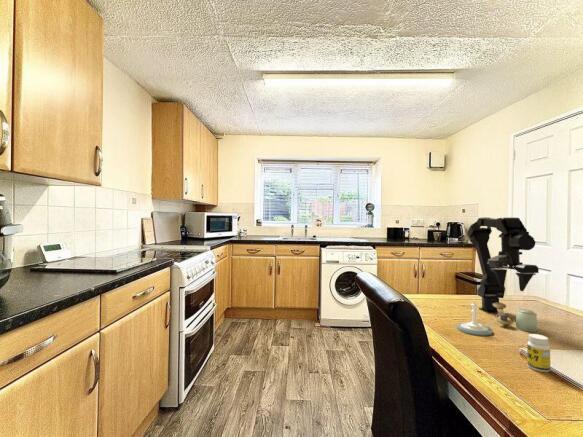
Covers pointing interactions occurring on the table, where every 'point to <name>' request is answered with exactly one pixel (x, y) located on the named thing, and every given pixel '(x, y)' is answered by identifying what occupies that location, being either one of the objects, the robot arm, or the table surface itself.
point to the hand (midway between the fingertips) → (511, 288)
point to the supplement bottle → (538, 353)
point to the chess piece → (474, 318)
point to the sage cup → (526, 320)
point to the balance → (501, 313)
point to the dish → (474, 330)
